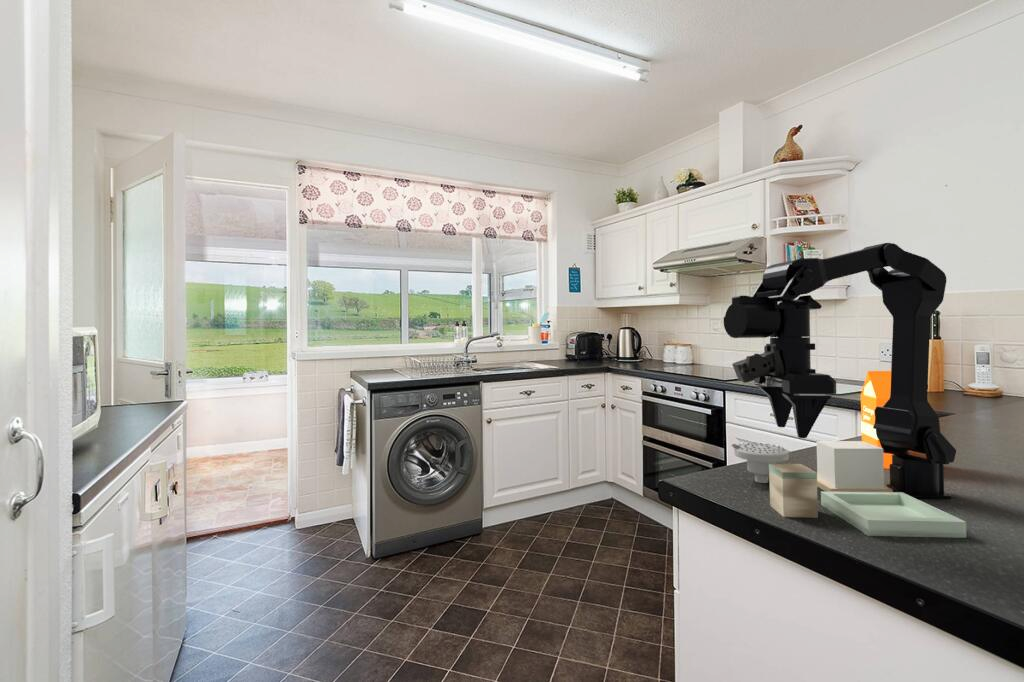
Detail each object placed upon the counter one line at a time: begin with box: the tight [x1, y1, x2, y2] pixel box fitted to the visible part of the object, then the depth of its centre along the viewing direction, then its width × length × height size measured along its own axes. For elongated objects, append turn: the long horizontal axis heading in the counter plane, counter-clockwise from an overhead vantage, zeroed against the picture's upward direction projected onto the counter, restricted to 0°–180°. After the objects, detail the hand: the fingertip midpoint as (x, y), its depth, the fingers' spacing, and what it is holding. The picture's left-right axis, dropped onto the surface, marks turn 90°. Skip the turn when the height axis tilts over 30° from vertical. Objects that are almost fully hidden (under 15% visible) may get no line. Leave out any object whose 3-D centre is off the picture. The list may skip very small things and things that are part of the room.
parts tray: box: [820, 490, 967, 539], centre depth 71 cm, size 12×12×2 cm
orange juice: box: [860, 370, 893, 470], centre depth 100 cm, size 8×9×20 cm
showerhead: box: [730, 442, 790, 484], centre depth 91 cm, size 9×7×10 cm
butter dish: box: [816, 440, 894, 492], centre depth 87 cm, size 10×9×8 cm
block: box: [768, 463, 819, 518], centre depth 76 cm, size 5×5×7 cm
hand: (791, 432), depth 77 cm, fingers open, 9 cm apart
